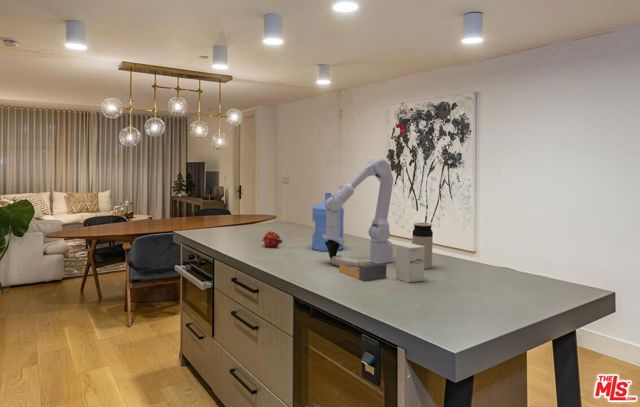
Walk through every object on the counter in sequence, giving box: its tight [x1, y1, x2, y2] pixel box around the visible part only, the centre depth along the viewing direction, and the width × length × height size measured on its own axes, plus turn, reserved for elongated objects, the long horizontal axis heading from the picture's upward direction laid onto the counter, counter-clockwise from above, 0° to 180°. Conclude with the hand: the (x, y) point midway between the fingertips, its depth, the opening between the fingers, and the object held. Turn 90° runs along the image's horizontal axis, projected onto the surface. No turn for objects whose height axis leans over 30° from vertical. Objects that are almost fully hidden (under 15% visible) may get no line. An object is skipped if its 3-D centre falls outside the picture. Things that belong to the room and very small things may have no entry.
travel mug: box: [411, 222, 434, 270], centre depth 177 cm, size 8×8×18 cm
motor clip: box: [338, 263, 387, 282], centre depth 165 cm, size 10×17×5 cm, turn 30°
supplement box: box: [395, 243, 425, 284], centre depth 157 cm, size 7×7×13 cm
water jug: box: [311, 192, 345, 253], centre depth 216 cm, size 16×16×28 cm
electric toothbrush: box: [329, 254, 371, 271], centre depth 171 cm, size 5×7×25 cm
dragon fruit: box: [262, 230, 283, 249], centre depth 221 cm, size 8×8×12 cm
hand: (332, 258), depth 183 cm, fingers closed
